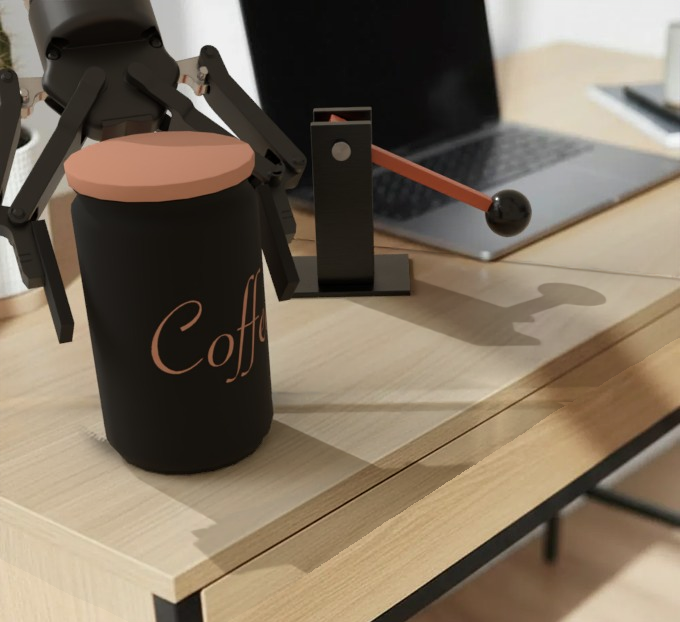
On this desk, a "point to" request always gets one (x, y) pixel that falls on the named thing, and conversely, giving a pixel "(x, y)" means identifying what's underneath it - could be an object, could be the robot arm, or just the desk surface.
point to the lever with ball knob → (463, 193)
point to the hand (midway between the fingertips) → (181, 312)
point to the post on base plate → (346, 214)
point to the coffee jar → (174, 297)
